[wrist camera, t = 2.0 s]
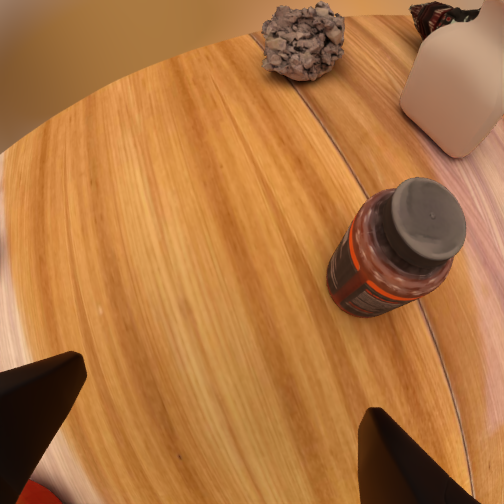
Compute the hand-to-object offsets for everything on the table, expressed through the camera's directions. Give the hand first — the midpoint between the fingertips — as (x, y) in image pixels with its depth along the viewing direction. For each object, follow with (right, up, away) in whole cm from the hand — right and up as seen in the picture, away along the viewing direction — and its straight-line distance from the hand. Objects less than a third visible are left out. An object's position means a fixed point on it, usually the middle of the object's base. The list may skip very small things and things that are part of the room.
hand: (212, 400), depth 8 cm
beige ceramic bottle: (+22, +19, +19) cm, 35 cm away
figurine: (+28, +33, +23) cm, 49 cm away
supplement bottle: (+9, +2, +14) cm, 17 cm away
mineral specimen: (+7, +26, +22) cm, 35 cm away
